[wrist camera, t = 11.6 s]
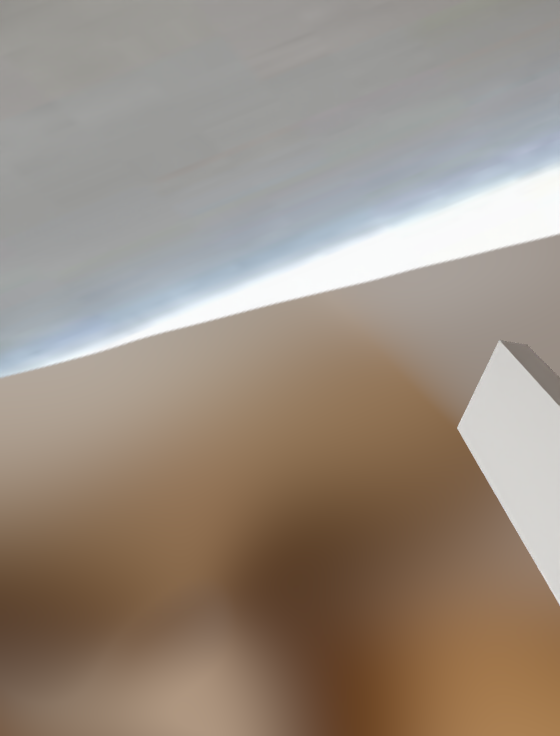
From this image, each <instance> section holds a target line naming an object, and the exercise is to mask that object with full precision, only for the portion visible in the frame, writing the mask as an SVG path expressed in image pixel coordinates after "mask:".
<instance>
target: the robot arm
mask: <svg viewBox="0 0 560 736" xmlns="http://www.w3.org/2000/svg"><path fill="white" fill-rule="evenodd" d="M457 429H458V430H459V432H460V434H461V435H462V437H463V439H464V440H465V442H466V444H467V446H468V448H469V449H470V451H471V452H472V455H473V456H474V458H475V460H476V461H477V463H478V465H479V467H480V468H481V470H482V472H483V474H484V475H485V477H486V479H487V480H488V482H489V484H490V486H491V487H492V489H493V491H494V493H495V494H496V496H497V498H498V499H499V501H500V503H501V505H502V506H503V508H504V510H505V512H506V513H507V515H508V517H509V518H510V520H511V522H512V524H513V525H514V527H515V529H516V530H517V532H518V534H519V536H520V537H521V539H522V541H523V543H524V544H525V546H526V548H527V549H528V551H529V553H530V555H531V556H532V558H533V560H534V561H535V563H536V565H537V567H538V568H539V570H540V572H541V574H542V575H543V577H544V579H545V581H546V582H547V584H548V586H549V587H550V589H551V591H552V593H553V594H554V596H555V598H556V600H557V601H558V603H559V605H560V377H559V376H558V375H557V374H556V373H555V372H554V371H553V370H552V369H551V368H550V367H549V366H548V365H547V364H546V363H545V362H544V361H543V360H542V359H541V358H540V357H539V356H538V355H537V354H536V353H535V352H534V351H533V350H532V349H531V348H530V347H529V346H528V345H525V344H519V343H513V342H507V341H501V340H499V342H498V344H497V346H496V348H495V350H494V353H493V354H492V357H491V359H490V361H489V363H488V365H487V367H486V369H485V371H484V373H483V375H482V378H481V379H480V381H479V384H478V386H477V388H476V390H475V392H474V394H473V396H472V398H471V400H470V402H469V404H468V406H467V409H466V411H465V413H464V415H463V417H462V419H461V421H460V423H459V425H458V427H457Z"/></svg>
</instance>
